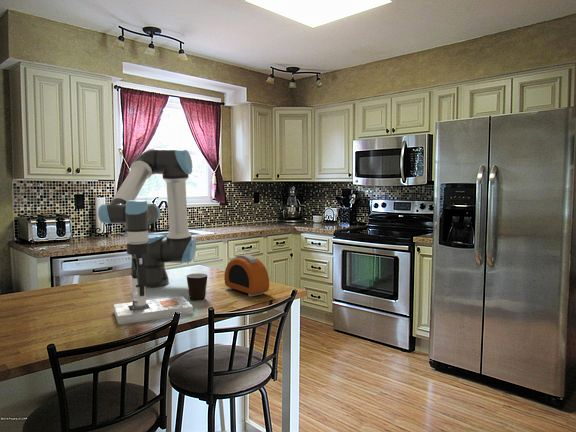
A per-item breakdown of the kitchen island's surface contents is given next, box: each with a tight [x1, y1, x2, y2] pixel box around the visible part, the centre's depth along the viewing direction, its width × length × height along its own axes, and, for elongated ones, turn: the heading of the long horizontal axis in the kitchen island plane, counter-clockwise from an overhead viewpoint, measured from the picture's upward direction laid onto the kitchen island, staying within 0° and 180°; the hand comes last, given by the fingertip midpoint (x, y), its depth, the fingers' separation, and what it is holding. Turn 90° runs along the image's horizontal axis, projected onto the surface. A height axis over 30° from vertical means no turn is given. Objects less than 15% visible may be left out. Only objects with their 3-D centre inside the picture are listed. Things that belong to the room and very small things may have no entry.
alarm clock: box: [224, 254, 270, 297], centre depth 190 cm, size 23×9×17 cm, turn 41°
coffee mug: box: [186, 273, 208, 302], centre depth 179 cm, size 12×9×10 cm
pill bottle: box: [132, 292, 146, 311], centre depth 156 cm, size 5×5×8 cm
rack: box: [113, 295, 194, 326], centre depth 158 cm, size 16×26×3 cm, turn 118°
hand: (138, 299), depth 156 cm, fingers open, 13 cm apart
